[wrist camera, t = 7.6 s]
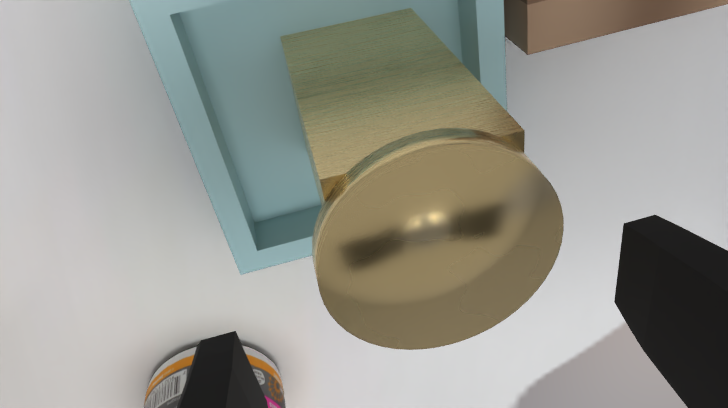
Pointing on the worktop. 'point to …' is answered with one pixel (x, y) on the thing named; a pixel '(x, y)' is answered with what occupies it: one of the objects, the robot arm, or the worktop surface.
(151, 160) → the worktop surface
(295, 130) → the tray
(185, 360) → the pill bottle
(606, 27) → the holder block
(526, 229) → the brass pin
